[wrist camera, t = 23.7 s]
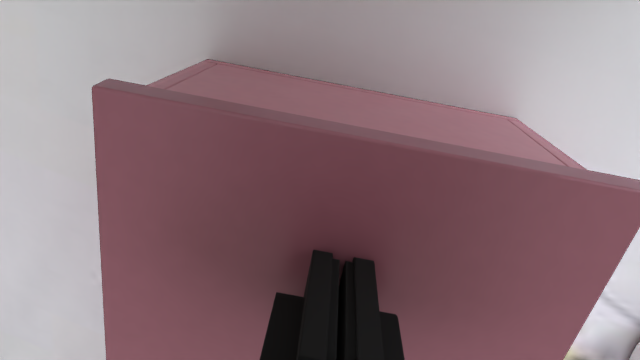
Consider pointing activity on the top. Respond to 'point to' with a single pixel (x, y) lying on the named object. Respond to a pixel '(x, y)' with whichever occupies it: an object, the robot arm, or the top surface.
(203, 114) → the lid
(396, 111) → the pink open box
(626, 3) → the top surface
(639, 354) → the mug
